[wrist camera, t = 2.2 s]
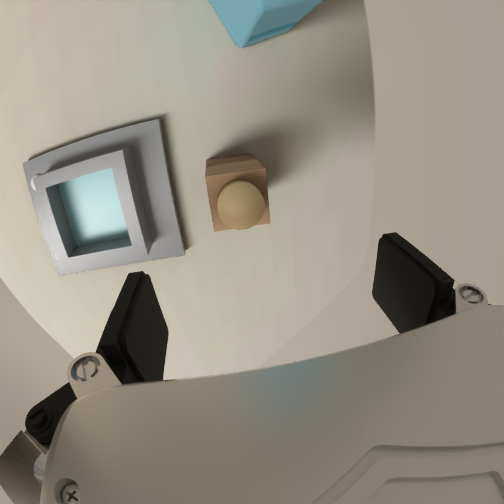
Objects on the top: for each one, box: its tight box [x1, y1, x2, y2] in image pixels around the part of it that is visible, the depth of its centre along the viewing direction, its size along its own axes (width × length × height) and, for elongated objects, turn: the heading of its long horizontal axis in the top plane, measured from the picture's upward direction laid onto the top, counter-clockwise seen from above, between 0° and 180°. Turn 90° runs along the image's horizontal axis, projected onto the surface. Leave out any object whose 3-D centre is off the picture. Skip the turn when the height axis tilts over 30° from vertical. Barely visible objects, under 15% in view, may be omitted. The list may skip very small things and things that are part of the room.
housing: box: [23, 119, 186, 276], centre depth 23 cm, size 13×15×4 cm
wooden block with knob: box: [205, 154, 270, 232], centre depth 21 cm, size 4×4×8 cm
